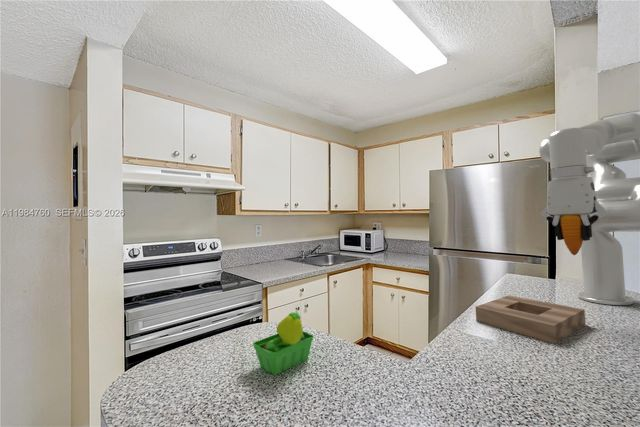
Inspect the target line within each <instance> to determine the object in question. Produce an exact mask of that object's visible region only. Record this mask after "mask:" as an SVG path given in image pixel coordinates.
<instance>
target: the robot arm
mask: <svg viewBox="0 0 640 427" xmlns="http://www.w3.org/2000/svg"><path fill="white" fill-rule="evenodd" d="M538 150H539V151H538V152H539V156H540V158H541V160H543V161H545V162H547V163H550V177H551V180H550V181H548V184H547V191H546V206H545V207H544V208H543V209H542V210H541V211H540V213H539V216H541V217H542V218H544V219H545V220H547V221H548V222H550V224H552V226H553V227H554V235H555V237H556V238H557V240H558V241H561V240H562V241H563V240H564V239H563V235H562V231H561V223H560V218H561V216H563V215H580V216H581V219H582V221H583V226H581V229H582V240H583V243H582V246H581V248H580V250H581V251H580V253H581V264H582V265H581V266H582V267H581V268H582V280H583V283H582V284H583V291H580V292H578V294H577V298H579V299H581V300H583V301H587V302H590V303H596V304H601V305H609V306H630V305H633V304H634V299H633V297H632V298H631V297H630V296H627V295H626V285H625V284H626V282H625V268H624V255H623V254H624V253H623V247H622V246H623V245H622V244H621V242H620V241H619V240H618V239H617V238H616V237H615V236H613V235H612V234H611V232H612V233H614V232H636V233H637V232H640V176H638V177H628V178H627V174H626V173H625V172H624V171H623V170H622V169H621V168H619V167H618V166H615V165H613V164H614V163H620V162H628V161H634V160H635V161H636V160H640V114H638V113H636V112H635V113H633V112H632V113H626V114H621V115H618V116H613V117H609V118H604V119H601V120H597V121H593V122H590V123H588V124H585V125H584V126H580V127H568V128H564V129H558V130H556V131H553V132H552V133H551V134H550V135H549V136H548V137H547V138H544V139H543V140H542V141H541V143H540V144H539V149H538ZM589 174H590V176H589ZM568 205H570V207H569V206H568Z"/></svg>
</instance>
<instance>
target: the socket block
mask: <svg viewBox="0 0 640 427" xmlns="http://www.w3.org/2000/svg"><path fill="white" fill-rule="evenodd" d="M474 308H475V321H476V322H479V323H482V324H484V325H489V326H491V327H492V326H493V327H495V328H500V329H502V330H506V331H510V332H514V333H515V334H517V333H518V334H521V335H522V336H523V335H524V336H527V337H531V338H534V339H537V340H542V341H545V342H549V343H551V344H557V343H559V342H560V341H562V340H565V338H567V337H569V336H570V335H572V334H573V333H575V332H577V331H578V330H580V329H581V328H584V327H585V326H586V310H585V309H583V308H578V307H575V306H574V307H573V306H569V305H568V306H567V305H563V304H558V303H552V302H548V301H547V302H546V301H542V300H536V299H530V298H526V297H520V296H514V295H510V294H508V295H505V296H503V297H500V298H497V299H494V300H491V301H488V302H485V303H482V304H479V305H477V306H476V305H475V307H474Z"/></svg>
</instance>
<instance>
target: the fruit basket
mask: <svg viewBox="0 0 640 427" xmlns="http://www.w3.org/2000/svg"><path fill="white" fill-rule="evenodd" d="M276 326H277V327H276V333H275V334H273V335H270V336H268V337H265V338H262V339H259V340H256V341H253V343H252V345H253V349H254V350H255V352H256V356H257V358H258V363H259V366H260V368H262V369H264V370H265V371H266V372H268V373H271V374H272V375H273V376H276V375H278V374H280V373H282V372H283V371H287V370H288V369H290V368H292V367H294V366H297V365H300V363H302V362H305V361H307V360H308V359H309V355H310V351H311V346H312V342H313V340H314V335H313V334H310V333H308V332H307V331H304V329H303V328H304V327H303V324H302V320H301V315H300V313H297V312H295V311H292V312H290V313H288V315H287V316H285V317H284V318H283V319H282V320H281V321H280V322H279V323H278V324H277V325H276Z"/></svg>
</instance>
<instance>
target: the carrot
mask: <svg viewBox="0 0 640 427" xmlns="http://www.w3.org/2000/svg"><path fill="white" fill-rule="evenodd" d="M568 206H569V207H570V205H568ZM560 223H561V231H562V235H563V239H562V240H563V241H564V244H565V246H566V248H567V249H568V251H569V253H571V255H573V256H576V255H577V254H578V253H579V251H580V250H581V246H582V243H583V240H582V229H581V226H583V221H582V219H581V216H580V215H563V216H561V218H560Z"/></svg>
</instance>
